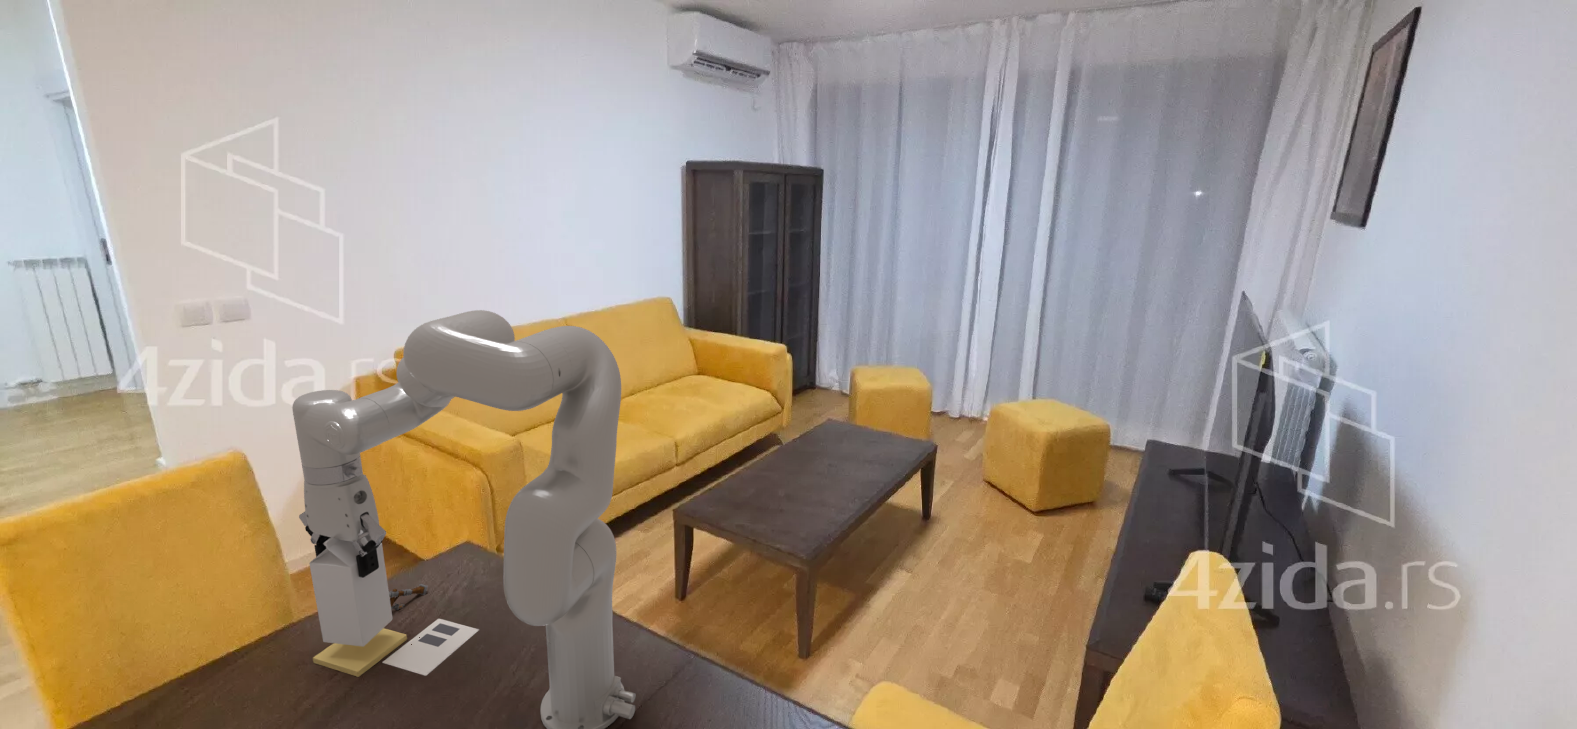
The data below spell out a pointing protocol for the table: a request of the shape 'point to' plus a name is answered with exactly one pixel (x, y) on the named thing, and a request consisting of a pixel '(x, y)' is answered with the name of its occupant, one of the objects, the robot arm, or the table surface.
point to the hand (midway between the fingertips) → (348, 567)
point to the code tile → (431, 647)
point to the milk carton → (349, 594)
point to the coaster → (360, 653)
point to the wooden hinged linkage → (395, 593)
